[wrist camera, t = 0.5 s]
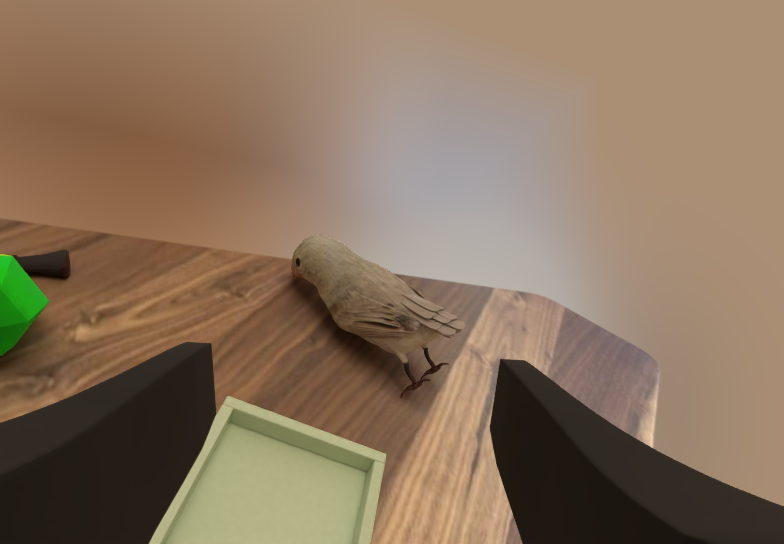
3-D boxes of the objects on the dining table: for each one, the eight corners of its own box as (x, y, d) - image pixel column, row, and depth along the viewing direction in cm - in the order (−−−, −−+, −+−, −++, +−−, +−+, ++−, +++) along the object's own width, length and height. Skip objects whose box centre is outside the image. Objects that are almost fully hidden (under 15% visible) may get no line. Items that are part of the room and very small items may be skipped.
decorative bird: (312, 266, 45) (335, 199, 41) (442, 379, 39) (484, 315, 35) (268, 283, 41) (288, 211, 37) (406, 412, 35) (448, 344, 31)
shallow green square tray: (336, 670, 22) (350, 656, 21) (119, 599, 21) (121, 581, 20) (375, 471, 31) (387, 453, 29) (222, 415, 30) (227, 394, 29)
